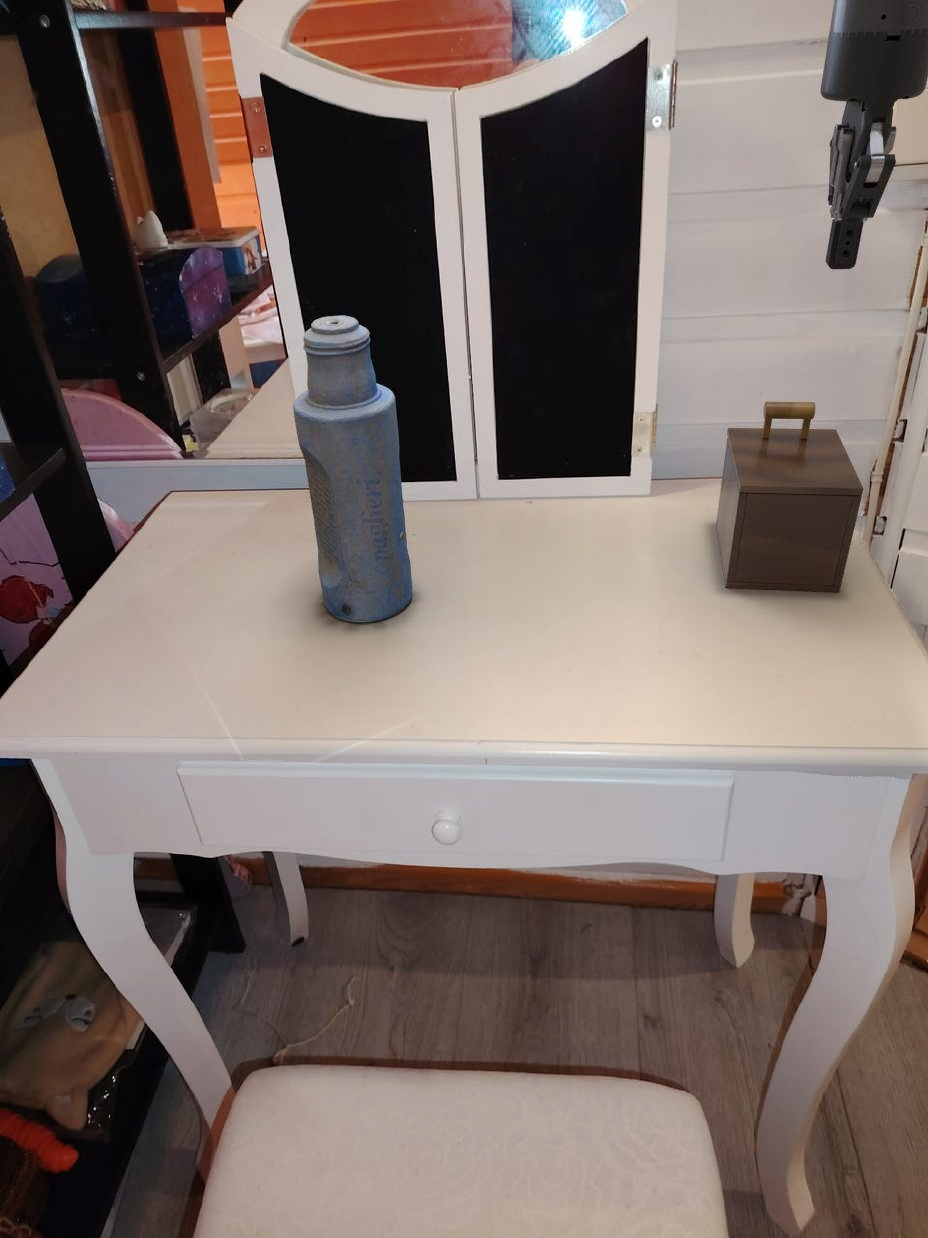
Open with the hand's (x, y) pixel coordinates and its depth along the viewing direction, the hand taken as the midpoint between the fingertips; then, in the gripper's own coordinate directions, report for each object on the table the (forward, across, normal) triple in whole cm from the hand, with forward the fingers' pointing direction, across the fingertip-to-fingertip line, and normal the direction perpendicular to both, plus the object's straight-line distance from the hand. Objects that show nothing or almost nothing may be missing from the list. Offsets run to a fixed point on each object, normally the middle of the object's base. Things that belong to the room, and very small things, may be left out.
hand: (839, 266), depth 76 cm
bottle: (+33, +6, -44) cm, 55 cm away
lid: (+21, -6, 0) cm, 22 cm away
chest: (+33, -6, 0) cm, 33 cm away
